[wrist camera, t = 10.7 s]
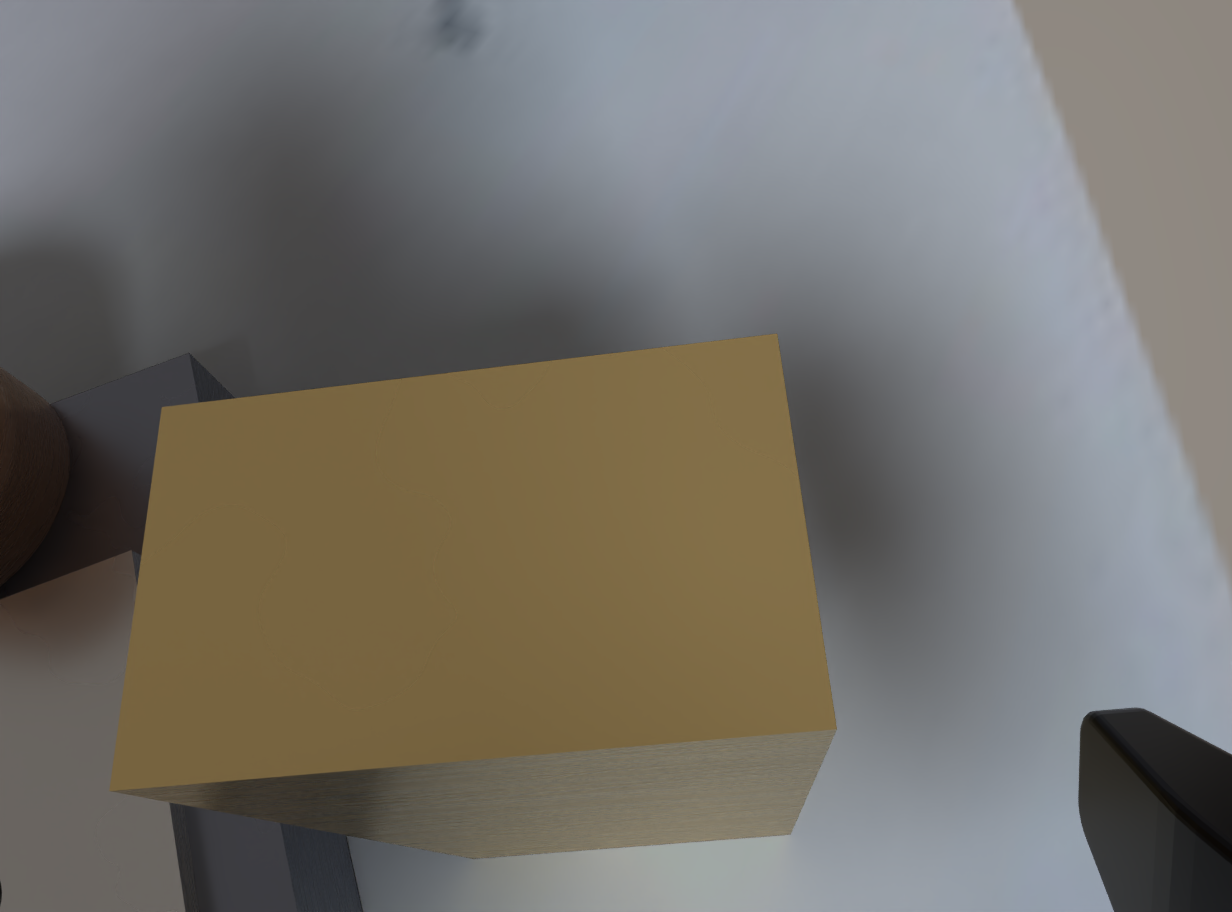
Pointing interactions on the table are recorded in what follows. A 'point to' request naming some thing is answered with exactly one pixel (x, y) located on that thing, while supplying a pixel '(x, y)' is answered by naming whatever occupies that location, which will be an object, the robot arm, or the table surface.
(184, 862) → the plane body
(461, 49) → the table surface
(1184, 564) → the table surface
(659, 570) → the brushed brass block
